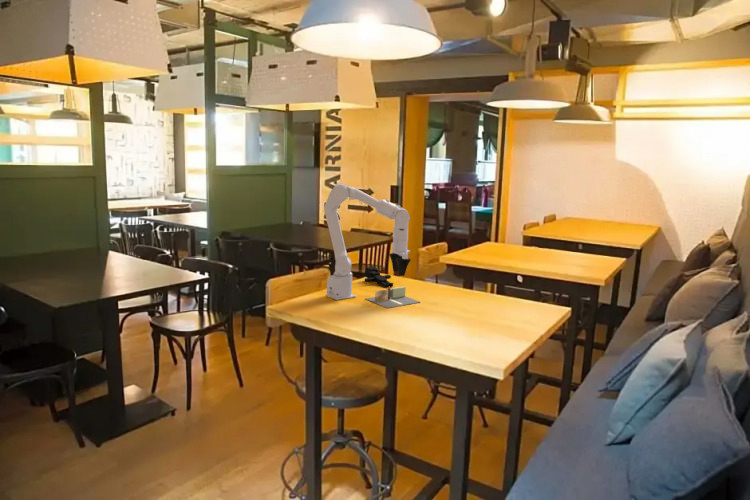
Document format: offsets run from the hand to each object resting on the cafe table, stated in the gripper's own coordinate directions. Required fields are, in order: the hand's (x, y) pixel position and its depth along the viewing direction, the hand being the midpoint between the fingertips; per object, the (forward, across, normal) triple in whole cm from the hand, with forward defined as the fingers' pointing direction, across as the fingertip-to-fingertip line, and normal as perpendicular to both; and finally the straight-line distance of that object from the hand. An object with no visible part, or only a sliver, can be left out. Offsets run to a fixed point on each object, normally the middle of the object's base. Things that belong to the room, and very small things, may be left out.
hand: (398, 273), depth 213 cm
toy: (+10, +23, +2) cm, 25 cm away
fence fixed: (+10, -4, +7) cm, 13 cm away
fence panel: (+9, -1, 0) cm, 9 cm away
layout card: (+10, -4, +3) cm, 11 cm away
